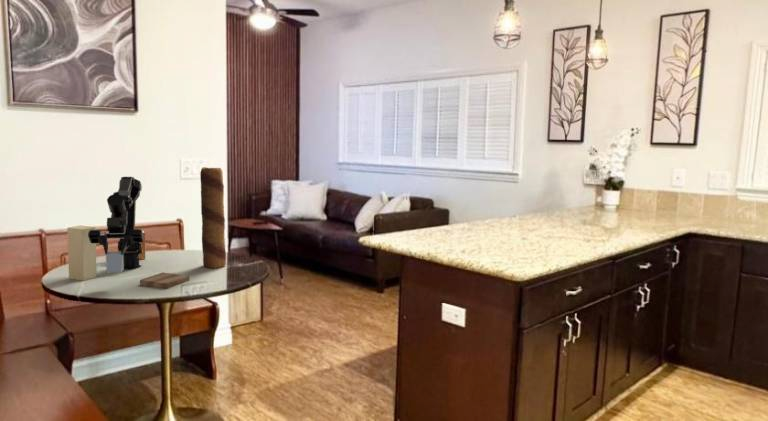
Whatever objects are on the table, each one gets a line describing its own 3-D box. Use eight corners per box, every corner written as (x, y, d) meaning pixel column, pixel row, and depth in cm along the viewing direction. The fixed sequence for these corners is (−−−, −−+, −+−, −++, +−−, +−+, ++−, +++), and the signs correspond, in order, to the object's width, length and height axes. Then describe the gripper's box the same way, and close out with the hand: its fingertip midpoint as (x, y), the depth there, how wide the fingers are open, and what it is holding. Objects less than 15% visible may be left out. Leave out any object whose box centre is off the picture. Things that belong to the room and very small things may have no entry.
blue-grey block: (109, 269, 207) (108, 251, 206) (123, 268, 209) (123, 251, 208) (106, 272, 202) (105, 254, 201) (121, 272, 204) (120, 254, 203)
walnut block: (140, 284, 212) (139, 279, 211) (162, 277, 224) (162, 272, 224) (167, 288, 208) (167, 283, 208) (189, 280, 220) (189, 275, 220)
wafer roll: (196, 267, 242) (194, 167, 236) (212, 262, 252) (211, 166, 246) (215, 270, 238) (213, 168, 232) (230, 265, 248) (229, 167, 242)
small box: (127, 261, 249) (126, 233, 248) (125, 258, 255) (124, 231, 253) (145, 259, 254) (145, 232, 252) (143, 256, 259) (142, 230, 257)
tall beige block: (99, 276, 221) (97, 226, 219) (83, 281, 215) (81, 229, 212) (84, 274, 224) (82, 224, 221) (68, 278, 217) (66, 227, 214)
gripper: (88, 209, 203) (81, 243, 194) (141, 208, 209) (137, 242, 200) (93, 226, 212) (88, 259, 203) (145, 225, 217) (141, 258, 208)
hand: (113, 254), depth 203 cm, fingers closed on blue-grey block, 5 cm apart
